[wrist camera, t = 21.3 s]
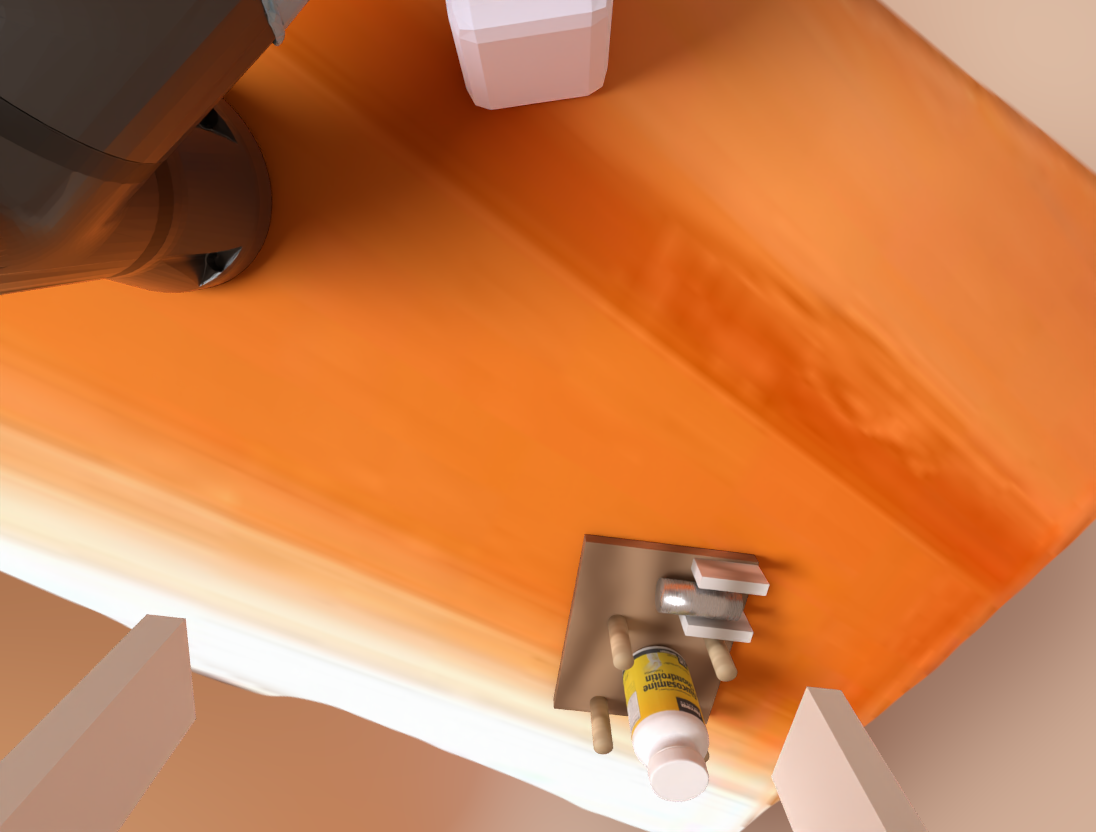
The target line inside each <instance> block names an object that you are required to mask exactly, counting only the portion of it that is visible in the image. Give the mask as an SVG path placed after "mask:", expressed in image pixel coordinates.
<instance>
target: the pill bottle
mask: <svg viewBox="0 0 1096 832" xmlns="http://www.w3.org/2000/svg"><path fill="white" fill-rule="evenodd" d="M633 658H634V665H633V666H632V667H631V668H630V669H628V670H623V674H622V676H623V684H624V691H625V697H626V704H627V711H628V717H629V724H630V731H631V738H632V743H633V748H634V751H635V754H636V756H637V757H638V759H639V760H640V761H641V763H643V764H644V765H645V766H646V767H647V768H648V776H649V781H650V785H651V788H652V790H653V792H654V793H655V794H656V795H657V796H659V797H660V798H662V799H665V800H668V801H673V802H682V801H688V800H690V799H693V798H695V797H697V796H698V795H700V794H701V793H702V792H704V790H705V789H706V787H707V785H708V782H709V775H708V771H707V767H706V763H705V761H704V758H705V756H706V754H707V751H708V747H709V736H708V732H707V729H706V725H705V722H704V719H703V715H702V712H701V709H700V706H699V702H698V699H697V696H696V692H695V689H694V686H693V682H692V679H691V676H690V673H689V669H688V666H687V664H686V662H685V660H684V659H683V657H682V656H681V655H680V654H679V653H677V652H676V651H674V650H672V649H670V648H667V647H663V646H650V647H646V648H642V649H640V650H638V651H636V652H635V653H633Z"/></svg>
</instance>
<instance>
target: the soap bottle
mask: <svg viewBox="0 0 1096 832" xmlns="http://www.w3.org/2000/svg"><path fill="white" fill-rule="evenodd" d="M446 6H447V12H448V18H449V22H450V26H451V30H452V34H453V38H454V42H455V46H456V50H457V54H458V58H459V62H460V66H461V70H462V73H463V77H464V81H465V85H466V89H467V91H468V93H469V95H470V96H471V98H472V100H473V102H474V104H475V105H476V106H480V107H483V108H486V109H490V110H494V109H500V108H507V107H514V106H521V105H528V104H534V103H541V102H548V101H555V100H561V99H568V98H575V97H582V96H588V95H590V94H592V93H593V92H595V91H596V90H598V89H599V88H601V87H602V86H603V83H604V79H605V76H606V72H607V68H608V56H609V44H610V32H611V20H612V8H613V0H446Z"/></svg>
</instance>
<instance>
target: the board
mask: <svg viewBox="0 0 1096 832" xmlns="http://www.w3.org/2000/svg"><path fill="white" fill-rule="evenodd" d="M758 564H759V562H758V560H757V559H756V557H755V555H752V554H743V553H735V552H727V551H719V550H710V549H702V548H694V547H686V546H677V545H669V544H661V543H653V542H644V541H636V540H628V539H620V538H611V537H603V536H595V535H587V534H585V536H584V542H583V547H582V552H581V557H580V563H579V568H578V573H577V578H576V584H575V589H574V594H573V600H572V605H571V610H570V615H569V621H568V626H567V631H566V636H565V642H564V647H563V652H562V657H561V663H560V668H559V673H558V678H557V684H556V689H555V694H554V708H555V709H565V710H575V711H584V712H591V723H592V734H593V746H594V750H595V752H597V753H599V754H607V753H609V752H611V751H612V749H613V743H612V735H611V727H610V719H609V714H613V715H622V716H628V711H627V704H626V697H625V691H624V684H623V676H622V674H623V670H628V669H630V668H631V667H632V666H633V665H634V658H633V653H635V652H636V651H638V650H640V649H642V648H646V647H650V646H663V647H667V648H670V649H672V650H674V651H676V652H677V653H679V654H680V655H681V656H682V657H683V659H684V660H685V662H686V664H687V666H688V669H689V673H690V676H691V679H692V682H693V686H694V689H695V692H696V696H697V699H698V702H699V706H700V709H701V712H702V715H703V719H704V722H705V724H707V721H708V718H709V715H710V712H711V709H712V706H713V703H714V700H715V697H716V694H717V691H718V687H719V684H720V681H731V680H733V679H734V678H735V677H736V676H737V669H736V667H735V665H734V662H733V660H732V657H731V655H730V650H731V647H732V644H733V641H738V642H747V643H750V641H751V638H752V635H753V630H752V628H751V626H750V624H749V622H748V620H747V618H746V616H745V614H744V612H743V610H744V607H745V604H746V601H747V598H748V594H754V595H762V596H766V594H767V591H768V588H769V585H770V584H769V583H768V581H767V579H766V578H765V576H764V574H763V573H762V571H761V569H760V568H759V566H758ZM659 578H668V579H676V580H685V581H693V582H696V583H697V585H698V587H699V588H703V589H711V590H720V591H728V592H737V593H741V594H742V600H743V609H742V614H741V617H740V619H739V620H738V621H728V620H719V619H710V618H702V617H693V616H684V615H675V614H667V613H659V612H658V611H657V609H656V604H655V591H656V585H657V582H658V579H659ZM708 759H709V753H708V751H707V754H706V756H705V758H704V761H705V762H706V761H707V760H708Z"/></svg>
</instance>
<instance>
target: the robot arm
mask: <svg viewBox="0 0 1096 832" xmlns="http://www.w3.org/2000/svg"><path fill="white" fill-rule="evenodd" d="M308 1H309V0H0V295H3V294H10V293H16V292H23V291H29V290H35V289H42V288H48V287H55V286H61V285H68V284H74V283H80V282H87V281H93V280H100V279H108V280H112V281H116V282H120V283H123V284H127V285H131V286H135V287H138V288H142V289H146V290H151V291H157V292H169V293H179V292H190V291H195V290H200V289H204V288H209V287H213V286H216V285H219V284H222V283H224V282H226V281H228V280H230V279H232V278H234V277H235V276H237V275H238V274H240V273H241V272H242V271H243V270H244V269H245V268H247V267H248V265H249V264H250V263H251V262H252V261H253V260H254V258H255V257H256V256H257V254H258V252H259V251H260V249H261V247H262V245H263V243H264V241H265V238H266V235H267V232H268V229H269V225H270V219H271V210H272V196H271V186H270V180H269V175H268V172H267V168H266V165H265V162H264V159H263V156H262V154H261V151H260V149H259V147H258V145H257V143H256V141H255V139H254V137H253V135H252V134H251V132H250V131H249V129H248V127H247V126H246V124H245V123H244V122H243V120H242V119H241V118H240V116H239V115H238V114H237V113H236V112H235V111H234V109H233V108H232V107H231V106H230V105H229V104H228V103H227V102H226V101H225V100H224V99H223V98H222V97H223V96H224V95H225V94H226V93H227V92H228V91H229V90H230V89H231V88H232V86H233V85H234V84H235V83H236V82H237V81H238V80H239V79H240V78H241V77H242V76H243V74H244V73H245V72H246V71H247V70H248V69H249V68H250V67H251V66H252V65H253V63H254V62H255V61H256V60H257V59H258V58H259V57H260V56H261V55H262V54H263V52H264V51H265V50H266V49H267V48H268V47H269V46H270V45H271V44H272V43H273V44H274V45H275V46H279V45H280V44H281V43H282V42H283V40H284V37H285V29H286V28H287V27H288V25H289V24H290V23H291V22H292V21H293V19H294V18H295V17H296V16H297V14H298V13H299V12H300V11H301V10H302V8H303V7H304V6H305V5H306V4H307V2H308ZM195 720H196V714H195V704H194V695H193V685H192V676H191V666H190V657H189V647H188V638H187V628H186V619H184V618H175V617H166V616H157V615H148V614H147V615H146V616H145V617H144V618H143V619H142V620H141V621H140V622H139V623H138V624H137V625H136V626H135V627H134V628H133V629H132V630H131V631H130V632H129V633H128V634H127V635H126V636H125V637H124V638H123V639H122V640H121V641H120V642H119V643H118V644H117V645H116V646H115V647H114V648H113V649H112V650H111V651H110V652H109V653H108V654H107V655H106V656H105V657H104V658H103V659H102V660H101V661H100V662H99V663H98V664H97V665H96V666H95V667H94V668H93V669H92V670H91V671H90V672H89V673H88V674H87V675H86V676H85V677H84V678H83V679H82V680H81V681H80V682H79V683H78V684H77V685H76V686H75V687H74V688H73V689H72V690H71V691H70V692H69V693H68V694H67V695H66V696H65V697H64V698H63V699H62V700H61V701H60V702H59V703H58V704H57V705H56V706H55V707H54V708H53V709H52V710H51V711H50V712H49V713H48V714H47V715H46V716H45V717H44V718H43V719H42V720H41V721H40V722H39V723H38V725H36V726H35V727H34V728H33V730H31V731H30V732H29V733H28V734H27V735H26V736H25V737H24V738H23V739H22V740H21V741H20V742H19V743H18V744H17V746H16V747H14V748H13V749H12V750H11V752H9V753H8V754H7V755H6V756H5V757H4V759H2V761H1V762H0V832H118V831H119V829H120V828H121V826H122V825H123V823H124V822H125V821H126V819H127V818H128V816H129V815H130V813H131V812H132V810H133V809H134V808H135V806H136V805H137V803H138V802H139V800H140V799H141V797H142V796H143V795H144V793H145V792H146V790H147V789H148V787H149V786H150V785H151V783H152V782H153V780H154V779H155V777H156V776H157V774H158V773H159V772H160V770H161V769H162V767H163V766H164V764H165V763H166V761H167V760H168V759H169V757H170V756H171V754H172V753H173V751H174V750H175V748H176V747H177V745H178V744H179V743H180V741H181V740H182V738H183V737H184V735H185V734H186V733H187V731H188V730H189V728H190V727H191V725H192V724H193V722H194V721H195ZM771 777H772V779H773V782H774V784H775V787H776V789H777V792H778V794H779V797H780V800H781V802H782V804H783V807H784V809H785V812H786V815H787V817H788V820H789V822H790V825H791V827H792V829H793V832H928V831H927V829H926V827H925V826H924V824H923V822H922V821H921V819H920V817H919V816H918V814H917V813H916V811H915V809H914V808H913V806H912V805H911V803H910V801H909V800H908V798H907V796H906V795H905V793H904V792H903V790H902V788H901V787H900V785H899V783H898V782H897V780H896V779H895V777H894V775H893V774H892V772H891V771H890V769H889V767H888V766H887V764H886V762H885V761H884V759H883V758H882V756H881V754H880V753H879V751H878V749H877V748H876V746H875V745H874V743H873V741H872V740H871V738H870V736H869V735H868V733H867V732H866V730H865V729H864V727H863V725H862V724H861V722H860V720H859V719H858V717H857V715H856V714H855V712H854V711H853V709H852V707H851V706H850V704H849V702H848V701H847V699H846V698H845V696H844V694H843V693H842V691H841V690H834V689H825V688H815V687H806V690H805V693H804V695H803V698H802V700H801V703H800V705H799V708H798V710H797V713H796V715H795V718H794V720H793V723H792V725H791V728H790V731H789V733H788V736H787V738H786V741H785V743H784V746H783V748H782V751H781V753H780V756H779V758H778V761H777V764H776V766H775V769H774V771H773V774H772V776H771Z"/></svg>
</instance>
